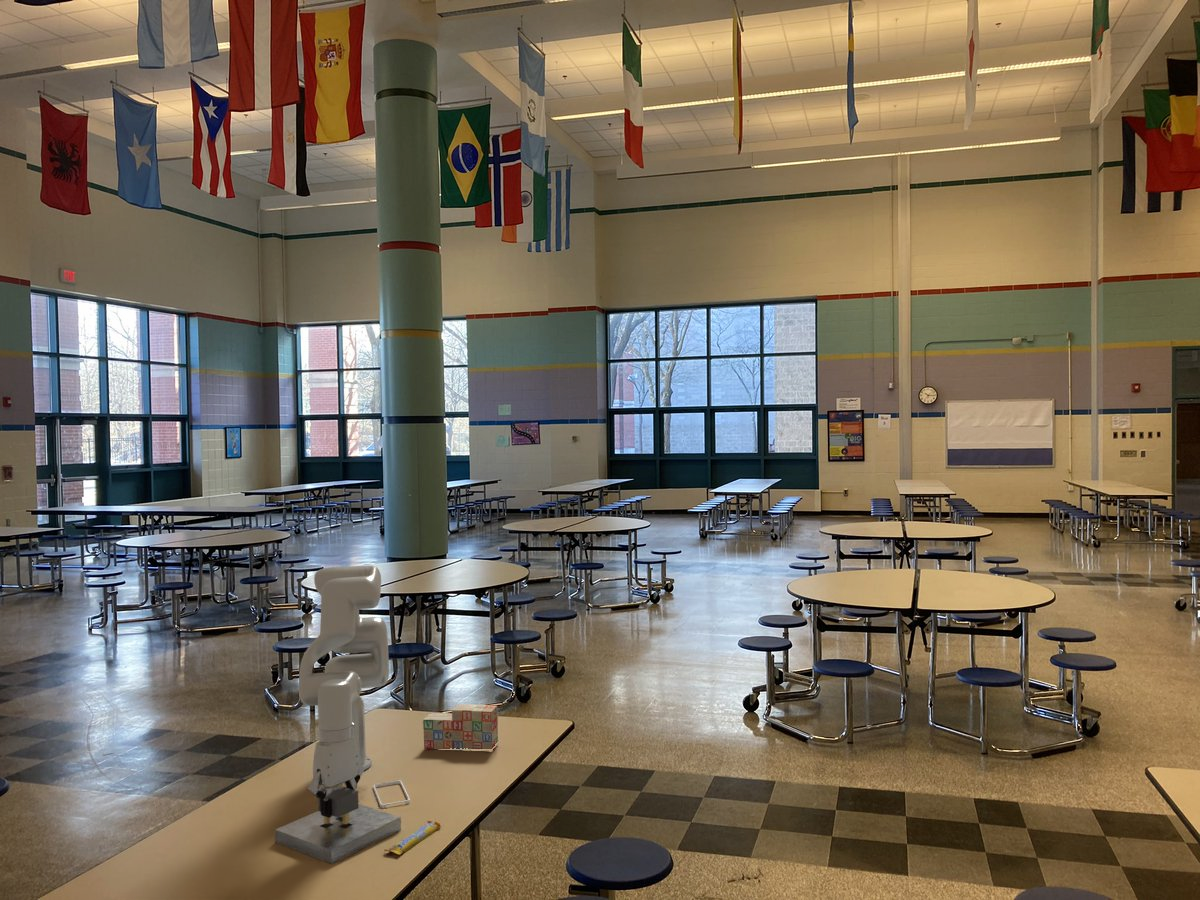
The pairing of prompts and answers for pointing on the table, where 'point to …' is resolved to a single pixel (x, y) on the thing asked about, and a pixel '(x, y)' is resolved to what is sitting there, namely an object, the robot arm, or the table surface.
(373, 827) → the socket plate
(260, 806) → the table surface
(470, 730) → the stack of blocks
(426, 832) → the candy bar
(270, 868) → the table surface
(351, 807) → the plug
